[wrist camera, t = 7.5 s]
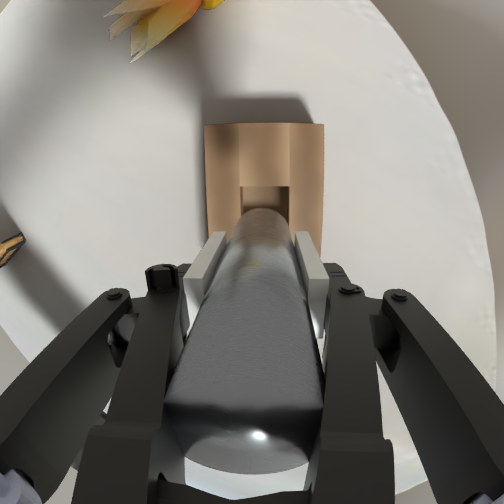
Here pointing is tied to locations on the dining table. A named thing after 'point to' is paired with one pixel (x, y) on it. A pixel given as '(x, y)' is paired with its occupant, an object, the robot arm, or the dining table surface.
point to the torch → (153, 20)
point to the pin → (250, 359)
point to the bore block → (265, 174)
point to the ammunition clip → (10, 248)
